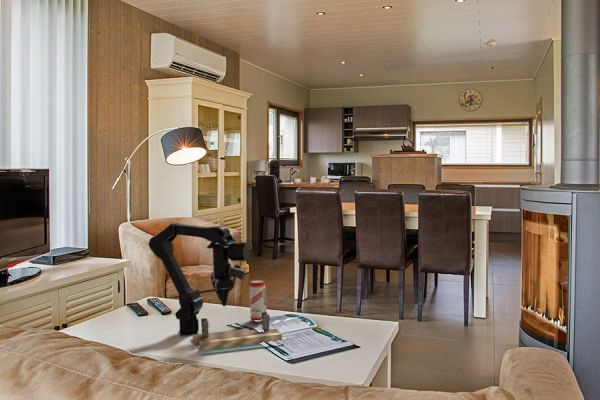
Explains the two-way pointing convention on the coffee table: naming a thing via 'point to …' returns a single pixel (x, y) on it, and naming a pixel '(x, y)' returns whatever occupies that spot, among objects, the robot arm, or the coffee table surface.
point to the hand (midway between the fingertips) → (222, 303)
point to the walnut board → (229, 334)
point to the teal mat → (231, 349)
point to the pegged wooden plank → (263, 315)
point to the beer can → (257, 299)
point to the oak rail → (239, 341)
